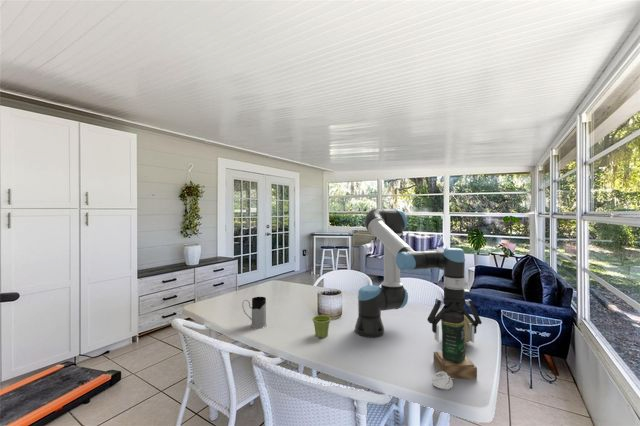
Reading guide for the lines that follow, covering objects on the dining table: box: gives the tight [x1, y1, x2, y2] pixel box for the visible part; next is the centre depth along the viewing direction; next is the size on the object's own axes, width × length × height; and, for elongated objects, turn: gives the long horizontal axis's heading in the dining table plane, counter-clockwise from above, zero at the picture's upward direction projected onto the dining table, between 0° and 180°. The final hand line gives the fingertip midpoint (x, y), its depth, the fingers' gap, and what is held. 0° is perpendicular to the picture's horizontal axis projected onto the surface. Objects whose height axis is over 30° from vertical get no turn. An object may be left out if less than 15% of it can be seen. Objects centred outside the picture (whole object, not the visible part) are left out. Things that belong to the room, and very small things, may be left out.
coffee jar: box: [440, 310, 467, 362], centre depth 117 cm, size 10×8×19 cm
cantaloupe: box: [440, 315, 476, 344], centre depth 143 cm, size 15×15×15 cm
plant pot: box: [312, 314, 332, 339], centre depth 151 cm, size 9×9×9 cm
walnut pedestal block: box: [433, 350, 478, 380], centre depth 117 cm, size 12×12×5 cm
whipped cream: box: [432, 371, 454, 390], centre depth 107 cm, size 8×7×5 cm
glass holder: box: [241, 296, 268, 329], centre depth 165 cm, size 9×14×15 cm, turn 78°
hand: (454, 341), depth 117 cm, fingers open, 13 cm apart
